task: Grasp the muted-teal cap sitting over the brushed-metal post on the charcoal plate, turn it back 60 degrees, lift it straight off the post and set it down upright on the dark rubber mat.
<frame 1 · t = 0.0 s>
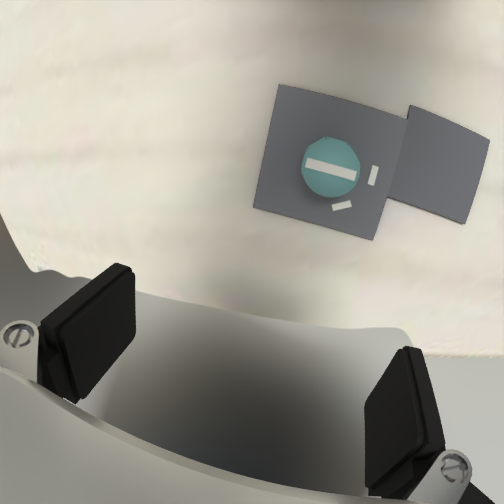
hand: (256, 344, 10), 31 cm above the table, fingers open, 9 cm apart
mat: (441, 166, 33), on the table
post plate: (329, 162, 36), on the table
cap: (329, 162, 36), resting on post plate
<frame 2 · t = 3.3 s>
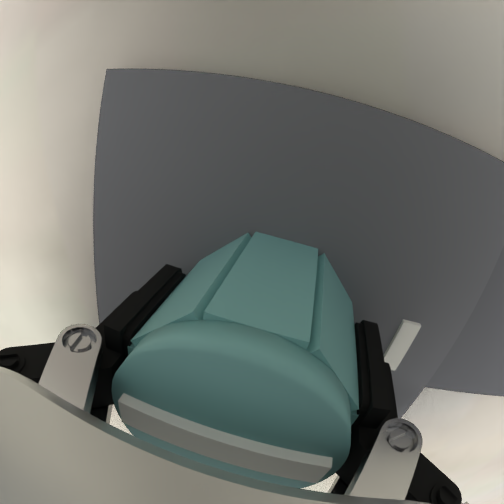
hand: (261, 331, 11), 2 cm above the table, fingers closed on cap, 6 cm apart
post plate: (270, 304, 12), on the table
cap: (267, 311, 12), point 1 cm above the table, touching gripper, post plate
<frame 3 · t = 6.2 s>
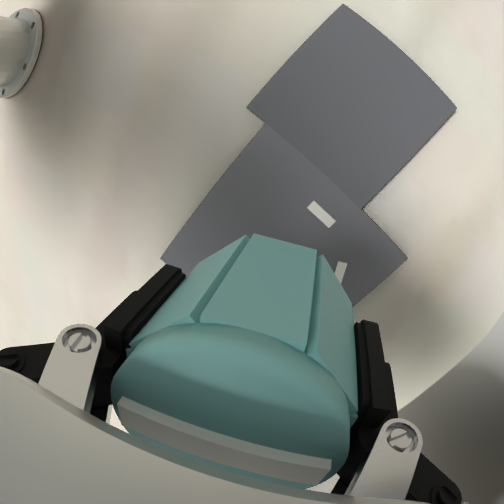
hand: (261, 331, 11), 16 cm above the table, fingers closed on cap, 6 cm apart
mat: (355, 102, 21), on the table
post plate: (277, 256, 28), on the table
cap: (267, 313, 12), point 15 cm above the table, touching gripper
when the fingers open (4 cm above the table, at t = 9.5 s): cap drops 2 cm, resting on mat.
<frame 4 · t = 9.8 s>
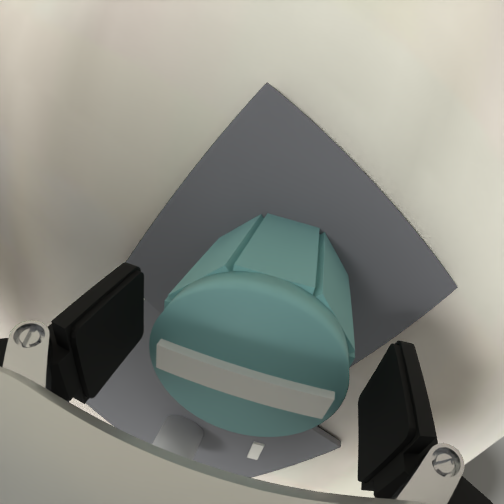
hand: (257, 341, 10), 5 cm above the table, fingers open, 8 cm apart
mat: (278, 278, 14), on the table
post plate: (186, 422, 21), on the table
cap: (276, 283, 14), resting on mat
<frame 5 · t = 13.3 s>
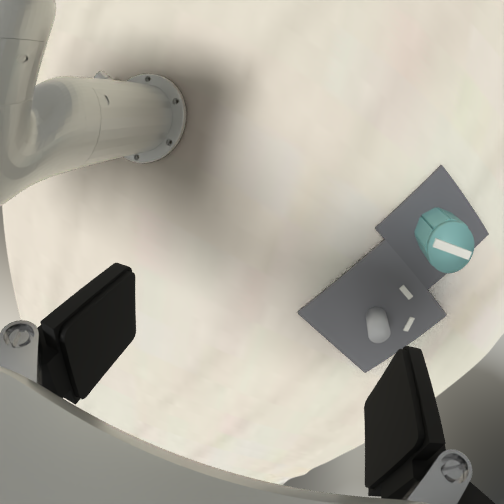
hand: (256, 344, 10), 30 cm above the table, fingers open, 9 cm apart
mat: (435, 230, 36), on the table
post plate: (375, 313, 42), on the table
cap: (436, 231, 35), resting on mat
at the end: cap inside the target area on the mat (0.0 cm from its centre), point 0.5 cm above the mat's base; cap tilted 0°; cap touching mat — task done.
